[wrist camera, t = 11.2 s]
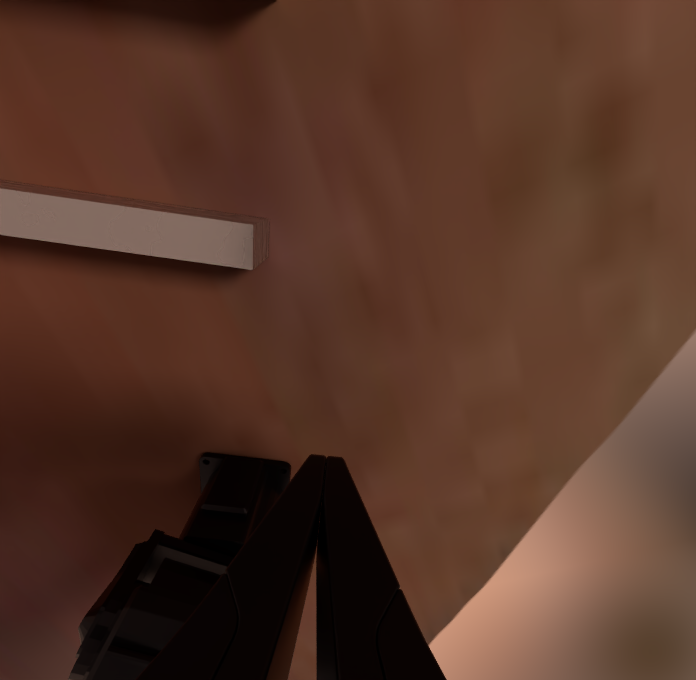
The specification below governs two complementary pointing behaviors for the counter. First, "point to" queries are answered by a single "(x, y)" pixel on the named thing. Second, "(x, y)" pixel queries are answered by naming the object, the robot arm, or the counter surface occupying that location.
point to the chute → (132, 225)
